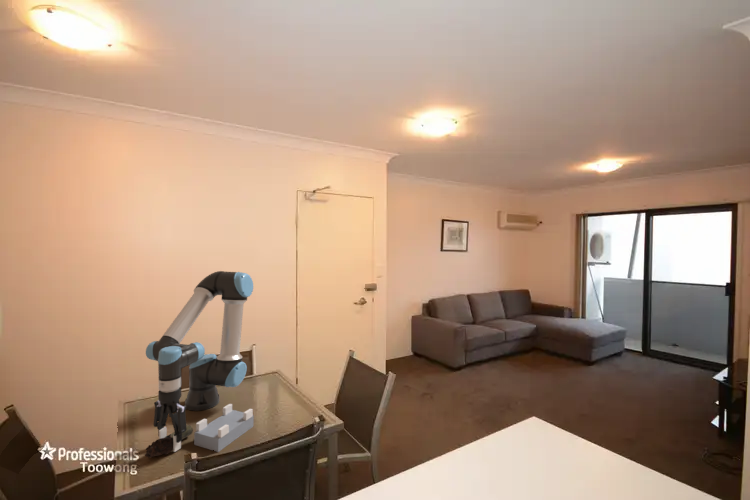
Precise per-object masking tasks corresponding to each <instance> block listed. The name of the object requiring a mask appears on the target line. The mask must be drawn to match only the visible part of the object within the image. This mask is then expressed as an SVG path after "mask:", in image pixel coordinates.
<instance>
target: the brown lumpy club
mask: <svg viewBox="0 0 750 500" xmlns="http://www.w3.org/2000/svg"><path fill="white" fill-rule="evenodd" d="M186 428H187V430H186V431H185V432H184V433H182V440H184V439H186V438H188V437H189V436H191V435H192V434H193V432H194V429H193V426H192V425H191V424H186ZM174 434H175V431H173V432H172V433H170V434H168V435H167V436H166V437H165V438H161V439H159V438H158V439H156V440H155V441H153V442H151V444H148V446H147V447H146V448H145V454H144V456H145V457H147V458H149V459H150V458H154V457H156V456H161V455H168V454H169V453H171V452H173V435H174Z"/></svg>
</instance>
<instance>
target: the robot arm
mask: <svg viewBox="0 0 750 500" xmlns="http://www.w3.org/2000/svg"><path fill="white" fill-rule="evenodd" d="M253 292H254V281H253V279H252V277H251V275H250V274H248V273H247V272H241V271H222V270H220V271H214V272H212V273H210V274H208V275H207V276H205V277H204V278H203V279H202V280H201V281H200V282H198V284H197V285H196V286H195V287H194V289H193V293H192V295H191V297H190V298H189V300H188V301H187V302H186V303H185V305H184V306H183V308H182V309H181V310H180V312H179V313H178V314H177V316H176V317H175V318H174V319H173V321H172V323H171V324H170V325H169V327H168V328H167V329H166V331H165V332H164V333H163V334H162V336H161V337H160V339H159V340H155V341H151V342H150V343H149V344H148V345H147V346H146V349H145V356H146V358H147V359H149V360H152V361H155V362H157V365H158V366H157V367H158V392H157V393H158V394H157V395H158V398H157V399H158V400H156V401H155V402H154V403H153V404H154V405H153V406H154V416H153V427H154V428H156V429H157V432H158V433H157V435H158V439H161V438H165V437H166V436H168V435H167V433H168V429H167V424H166V423H167V420H168V417H169V418H171V422H172V426H173V429H174V431H173V432H175V434H174V435H173V451H172V452H173V453H175V452H177V451H179V450H180V449H181V448H182V440H183V439H182V433H184V432H185V431H186V430H187V428H186V425H187V419H186V418H187V417H186V415H187V414H186V411H187V410H189V411H192V412H193V411H194V412H195V411H197V412H198V411H205V410H208V409H211V408H213V407H215V406H217V405H218V404H219V403H220V393H219V392H218V389H217V386H220V387H226V388H236V387H238V386H239V385H240V384H241V383H242V382H243V381H244V380H245V377H246V374H247V369H248V367H247V364H246V363H245V362H244V361H243V355H242V354H241V353H240V352H241V351H240V350H241V339H242V338H241V337H242V327H243V326H242V325H243V313H244V304H245V303H246V302H247V301H248V298H249V297H250V296H252V294H253ZM216 296H221V301H222V302H223V303H224V307H223V318H222V326H221V327H222V329H221V340H220V341H221V342H220V352H219V354H218V355H216V354H215V353H208V354H205V353H206V352H205V351H206V349H205V347H204V345H203V343H201V342H199V341H198V342H197V341H195V342H191V343H190V344H186V343H185V344H184V343H181V342H182V341H183V339H184V338H185V336H187V333H188V332H189V331H190V329H191V328H192V326H193V325H194V323H196V321H197V319H198V318H199V316H200V314H201V313H202V312H203V310H204V309H205V308H206V306H207V304H208V303H209V302H212V301H213V300H214V298H215V297H216ZM187 366H189V368H188V369H189V370H188V371H189V372H188V373H189V374H188V377H189V380H188V381H189V383H188V384H189V386H188V387H189V388H188V393H187V396H186V398H185V401H184V405H181V401H180V399H181V397H182V369H183V368H185V367H187Z"/></svg>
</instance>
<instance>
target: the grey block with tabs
mask: <svg viewBox="0 0 750 500" xmlns="http://www.w3.org/2000/svg"><path fill="white" fill-rule="evenodd" d="M253 413H254V409H253V408H248V409H247V410H245V411H239V410H236V409H233V403H228V404H226V405H225V406H223V407H222V415H220V416H219V417H217V418H215V419H214V420H212V421H211V422H209V423H208V419H207V418H203V419H201V420H199V421H197V422H196V424H195V431H193V432H194V437H193V438H194V440H193V441H194V443H193V444H194V446H198V447H200V448H204V449H207V450H210V451H213V450H214V452H217V453H220V452H221V451H222V450H224V449H225V448H226V447H227V446H229V445H230V444H232V443H233V442H234V441H236V440H237V439H238V438H239V437H241V436H242V435H243V434H244V435H245V433H247V431H249V430H251V429H252V428H253V427H254V423H255V422H254V418H255V416H254V414H253Z"/></svg>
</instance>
